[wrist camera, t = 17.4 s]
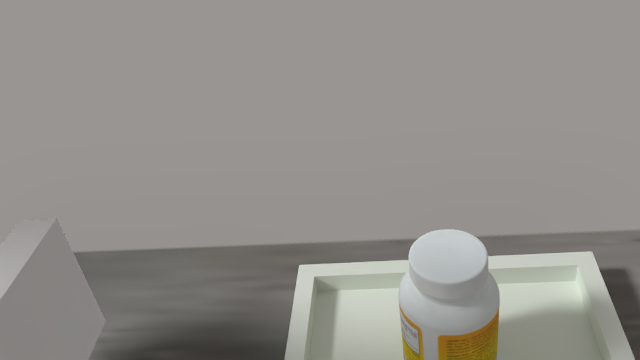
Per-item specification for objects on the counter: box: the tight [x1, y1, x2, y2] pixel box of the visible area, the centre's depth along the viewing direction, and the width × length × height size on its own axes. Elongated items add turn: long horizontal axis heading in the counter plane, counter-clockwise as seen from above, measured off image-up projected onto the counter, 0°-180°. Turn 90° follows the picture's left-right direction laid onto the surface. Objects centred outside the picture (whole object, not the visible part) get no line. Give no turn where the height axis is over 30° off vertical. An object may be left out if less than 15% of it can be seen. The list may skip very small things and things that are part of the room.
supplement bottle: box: [398, 229, 500, 360], centre depth 34 cm, size 5×5×10 cm
